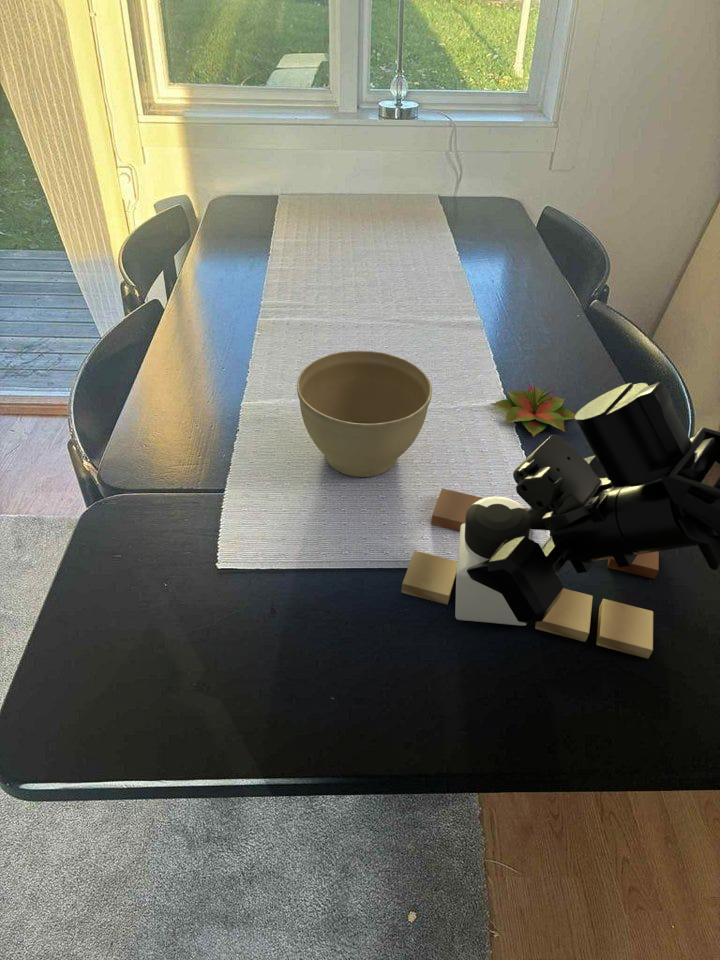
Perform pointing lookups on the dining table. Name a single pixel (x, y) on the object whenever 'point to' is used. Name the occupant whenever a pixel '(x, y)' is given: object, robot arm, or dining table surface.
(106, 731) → the dining table surface
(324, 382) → the planter bowl
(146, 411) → the dining table surface
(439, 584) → the set of tan blocks
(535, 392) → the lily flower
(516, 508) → the medicine bottle
